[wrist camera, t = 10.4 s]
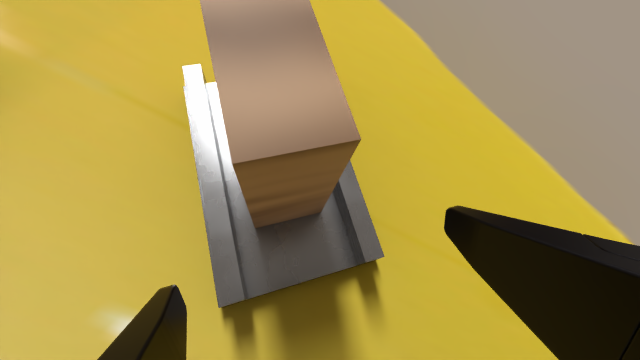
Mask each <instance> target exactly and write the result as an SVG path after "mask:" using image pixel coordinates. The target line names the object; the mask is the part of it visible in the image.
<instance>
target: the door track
mask: <svg viewBox="0 0 640 360" xmlns="http://www.w3.org/2000/svg"><path fill="white" fill-rule="evenodd" d="M182 68H183V74H184V80H185V86H183V87H184V93H185V99H186V105H187V112H188V118H189V124H190V131H191V137H192V143H193V150H194V156H195V162H196V169H197V175H198V181H199V187H200V194H201V200H202V206H203V213H204V219H205V225H206V232H207V238H208V244H209V251H210V257H211V263H212V269H213V276H214V282H215V288H216V295H217V301H218V307H219V308H220V307H224V306H227V305H230V304H233V303H237V302H240V301H243V300H246V299H250V298H253V297H256V296H259V295H263V294H266V293H269V292H272V291H276V290H279V289H282V288H285V287H289V286H292V285H295V284H298V283H302V282H305V281H308V280H311V279H315V278H318V277H321V276H324V275H328V274H331V273H334V272H337V271H341V270H344V269H347V268H350V267H354V266H357V265H360V264H363V263H366V262H370V261H373V260H376V259H379V258H382V257H384V254H383V251H382V249H381V246H380V243H379V240H378V237H377V235H376V232H375V229H374V226H373V223H372V221H371V218H370V215H369V212H368V209H367V206H366V204H365V201H364V198H363V195H362V192H361V190H360V187H359V184H358V181H357V178H356V176H355V173H354V170H353V167H352V164H351V162H350V160H349V162H348V164H347V166H346V168H345V169H344V171H343V173H342V175H341V177H340V179H339V180H338V182H337V184H336V186H335V188H334V189H333V191H332V193H331V195H330V197H329V199H328V200H327V202H326V204H325V206H324V208H323V210H322V211H321V212H320V213H316V214H312V215H308V216H304V217H299V218H295V219H291V220H287V221H283V222H279V223H275V224H271V225H267V226H263V227H259V228H255V227H254V224H253V222H252V219H251V216H250V213H249V210H248V208H247V205H246V202H245V199H244V196H243V193H242V191H241V188H240V185H239V182H238V179H237V177H236V174H235V171H234V168H233V165H232V161H231V156H230V151H229V146H228V141H227V136H226V131H225V126H224V121H223V116H222V110H221V105H220V100H219V95H218V90H217V85H216V82H214V83H207V82H206V79H205V76H204V74H203V71H202V68H201V65H200V64H197V65H188V66H182Z"/></svg>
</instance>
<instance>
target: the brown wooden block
mask: <svg viewBox="0 0 640 360" xmlns="http://www.w3.org/2000/svg"><path fill="white" fill-rule="evenodd" d="M200 4H201V9H202V14H203V19H204V24H205V29H206V34H207V39H208V44H209V49H210V54H211V60H212V65H213V70H214V75H215V80H216V85H217V90H218V95H219V100H220V105H221V110H222V116H223V121H224V126H225V131H226V136H227V141H228V146H229V151H230V156H231V161H232V165H233V168H234V171H235V174H236V177H237V179H238V182H239V185H240V188H241V191H242V193H243V196H244V199H245V202H246V205H247V208H248V210H249V213H250V216H251V219H252V222H253V224H254V227H255V228H259V227H263V226H267V225H271V224H275V223H279V222H283V221H287V220H291V219H295V218H299V217H304V216H308V215H312V214H316V213H320V212H321V211H322V210H323V208H324V206H325V204H326V202H327V200H328V199H329V197H330V195H331V193H332V191H333V189H334V188H335V186H336V184H337V182H338V180H339V179H340V177H341V175H342V173H343V171H344V169H345V168H346V166H347V164H348V162H349V160H350V159H351V157H352V155H353V153H354V151H355V149H356V148H357V146H358V144H359V142H360V140H361V138H360V135H359V132H358V130H357V127H356V124H355V122H354V119H353V116H352V114H351V111H350V108H349V106H348V103H347V100H346V97H345V95H344V92H343V89H342V87H341V84H340V81H339V79H338V76H337V73H336V71H335V68H334V65H333V63H332V60H331V57H330V54H329V52H328V49H327V46H326V44H325V41H324V38H323V36H322V33H321V30H320V28H319V25H318V22H317V20H316V17H315V14H314V12H313V9H312V6H311V3H310V1H309V0H200Z"/></svg>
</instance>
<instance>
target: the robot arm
mask: <svg viewBox="0 0 640 360" xmlns="http://www.w3.org/2000/svg"><path fill="white" fill-rule="evenodd" d="M444 230H445V233H446V234H447V236H448V237H449V238H450V240H451V241H452V242H453V243H454V245H455V246H456V247H457V249H458V250H459V251H460V252H461V254H462V255H463V256H464V258H465V259H466V260H467V261H468V263H469V264H470V265H471V266H472V268H473V269H474V270H475V271H476V272H477V273H478V274H479V275H480V276H481V278H482V279H483V280H484V281H485V282H486V283H487V284H488V285H489V286H490V287H491V288H492V289H493V290H494V291H495V292H496V293H497V295H498V296H499V297H500V298H501V299H502V300H503V301H504V302H505V303H506V304H507V305H508V306H509V307H510V308H511V309H512V310H513V312H514V313H515V314H516V315H517V316H518V317H519V318H520V319H521V320H522V321H523V322H524V323H525V324H526V325H527V326H528V328H529V329H530V330H531V331H532V332H533V333H534V334H535V335H536V336H537V337H538V338H539V339H540V340H541V341H542V342H543V343H544V345H545V346H546V347H547V348H548V349H549V350H550V351H551V352H552V353H553V354H554V355H555V356H556V357H557V358H558V359H559V360H640V246H637V245H632V244H626V243H622V242H617V241H612V240H608V239H603V238H599V237H594V236H590V235H586V234H583V235H582V234H581V233H577V232H572V231H568V230H563V229H559V228H555V227H550V226H546V225H542V224H537V223H533V222H528V221H524V220H520V219H515V218H511V217H507V216H502V215H498V214H493V213H489V212H485V211H480V210H476V209H471V208H467V207H463V206H454V207H450V208H448V209H447V210H446V214H445V224H444ZM186 340H187V310H186V305H185V303H184V300H183V298H182V296H181V293H180V291H179V288H178V287H177V286H176V285H171V286H167V287H164V288H161V289H159V290H158V291H157V292H156V293H155V295H154V296H153V297H152V298H151V299H150V300H149V301H148V303H147V304H146V305H145V306H144V307H143V308H142V309H141V311H140V312H139V313H138V314H137V315H136V316H135V317H134V319H133V320H132V321H131V322H130V323H129V324H128V325H127V326H126V328H125V329H124V330H123V331H122V332H121V333H120V334H119V336H118V337H117V338H116V339H115V340H114V341H113V342H112V344H111V345H110V346H109V347H108V348H107V349H106V350H105V352H104V353H103V354H102V355H101V356H100V357H99V358H98V359H97V360H186Z"/></svg>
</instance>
